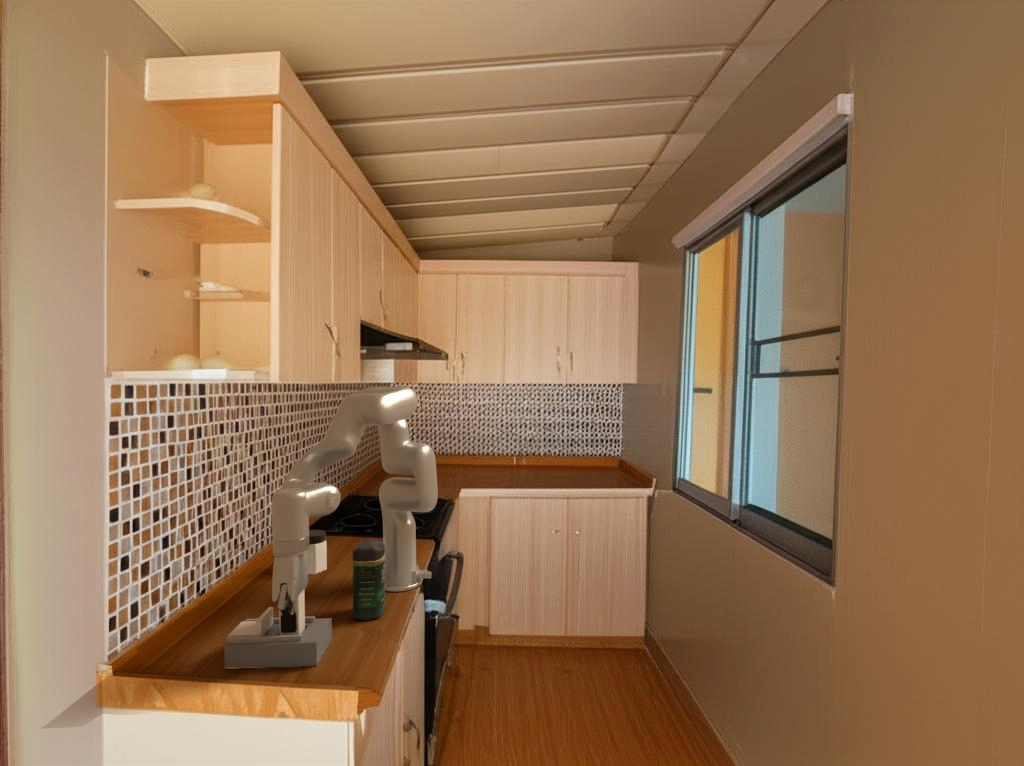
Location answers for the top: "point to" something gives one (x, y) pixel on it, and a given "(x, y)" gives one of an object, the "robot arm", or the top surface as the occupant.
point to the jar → (317, 552)
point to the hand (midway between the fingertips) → (292, 626)
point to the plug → (297, 615)
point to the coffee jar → (368, 579)
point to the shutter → (254, 626)
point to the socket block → (280, 646)
